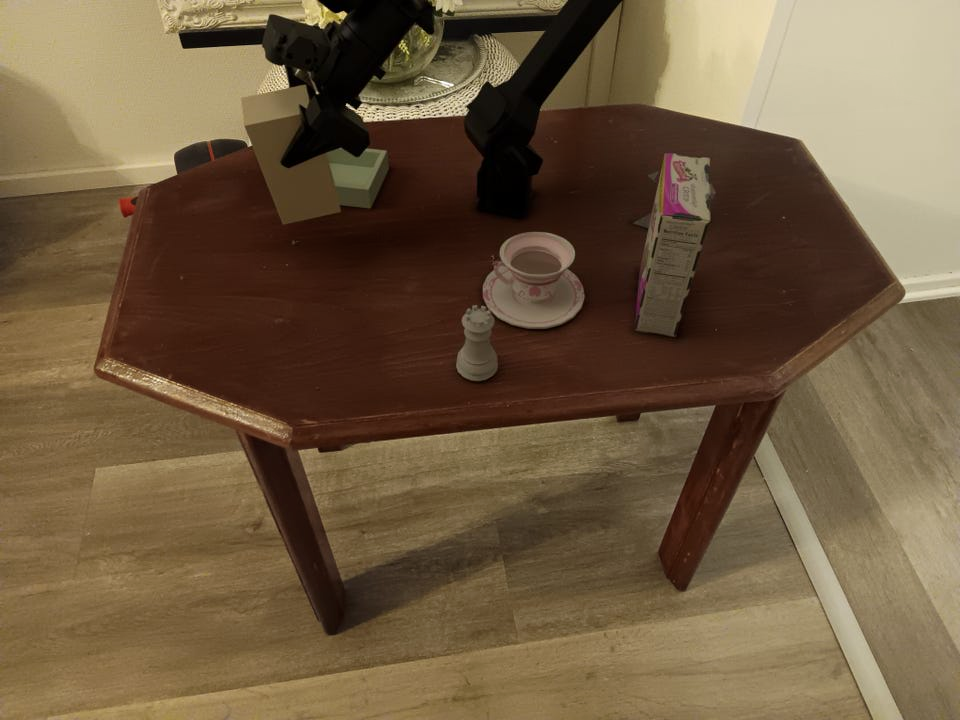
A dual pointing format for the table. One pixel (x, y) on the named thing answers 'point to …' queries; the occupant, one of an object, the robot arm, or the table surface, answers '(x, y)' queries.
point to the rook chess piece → (477, 346)
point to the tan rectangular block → (270, 135)
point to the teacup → (534, 282)
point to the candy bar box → (673, 243)
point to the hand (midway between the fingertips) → (279, 151)
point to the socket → (358, 175)
